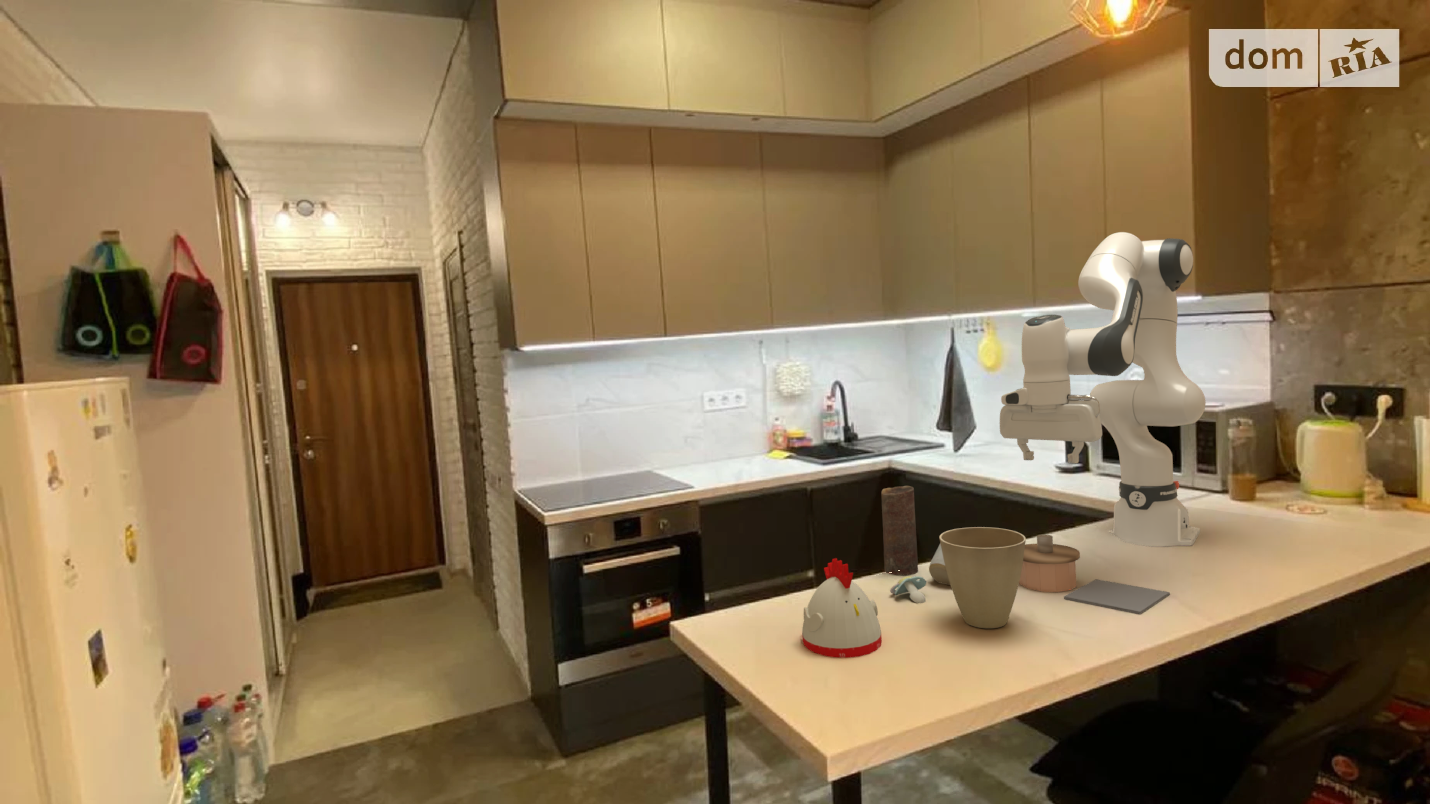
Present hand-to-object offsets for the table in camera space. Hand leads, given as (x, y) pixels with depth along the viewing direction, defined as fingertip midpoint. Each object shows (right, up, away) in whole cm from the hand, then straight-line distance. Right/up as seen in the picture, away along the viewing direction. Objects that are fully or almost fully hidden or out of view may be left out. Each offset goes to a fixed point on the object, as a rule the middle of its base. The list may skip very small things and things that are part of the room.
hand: (1050, 461), depth 159 cm
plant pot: (-19, -28, -17) cm, 38 cm away
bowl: (0, -26, +2) cm, 26 cm away
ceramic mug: (-18, -27, +4) cm, 32 cm away
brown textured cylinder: (-27, -27, +14) cm, 41 cm away
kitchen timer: (-47, -31, -22) cm, 60 cm away
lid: (0, -20, +1) cm, 20 cm away
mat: (+9, -26, -9) cm, 29 cm away
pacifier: (-30, -29, -1) cm, 42 cm away
